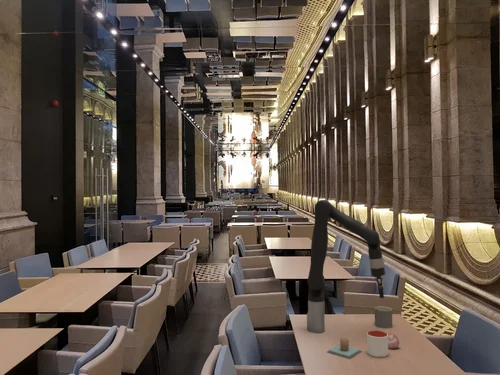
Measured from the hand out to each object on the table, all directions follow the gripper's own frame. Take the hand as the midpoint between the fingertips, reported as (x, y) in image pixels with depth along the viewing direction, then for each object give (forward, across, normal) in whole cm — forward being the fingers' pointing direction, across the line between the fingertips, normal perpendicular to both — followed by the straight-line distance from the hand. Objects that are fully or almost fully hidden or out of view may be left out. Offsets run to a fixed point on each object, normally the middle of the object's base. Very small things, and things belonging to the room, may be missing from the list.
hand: (381, 295), depth 225 cm
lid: (+19, +29, -22) cm, 41 cm away
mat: (+19, +29, -22) cm, 41 cm away
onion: (+23, +16, +1) cm, 28 cm away
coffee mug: (+22, -21, -1) cm, 31 cm away
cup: (+22, +27, -6) cm, 35 cm away
